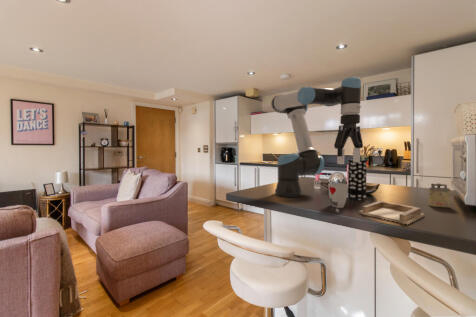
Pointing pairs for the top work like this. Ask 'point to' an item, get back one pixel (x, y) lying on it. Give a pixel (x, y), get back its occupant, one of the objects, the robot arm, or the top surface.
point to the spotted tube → (357, 179)
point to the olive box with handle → (439, 196)
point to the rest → (392, 212)
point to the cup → (338, 194)
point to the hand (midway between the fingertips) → (348, 163)
